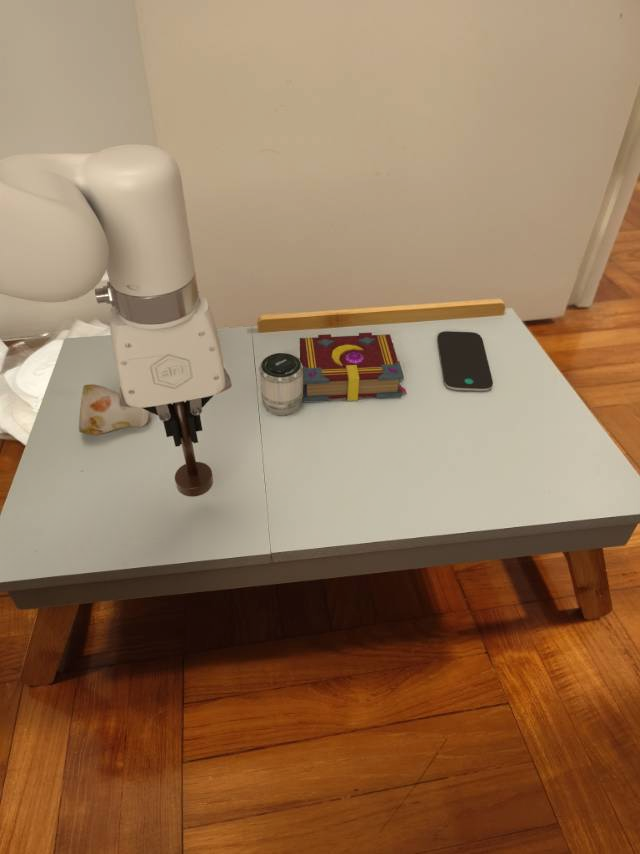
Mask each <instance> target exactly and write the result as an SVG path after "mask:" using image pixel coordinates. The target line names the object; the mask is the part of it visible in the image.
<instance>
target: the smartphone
mask: <svg viewBox="0 0 640 854" xmlns="http://www.w3.org/2000/svg"><path fill="white" fill-rule="evenodd" d="M436 341H437V348H438V356H439V360H440V361H439V362H440V369H441V374H442V379H443V380H442V381H443V384H444V386H445V387H446V388H447V389H449V390H453V391H462V392H464V391H465V392H487V391H490V390H491V389H493V385H494V381H493V376H492V373H491V369H490V365H489V364H490V363H489V361H488V360H489V359H488V357H487V356H488V355H487V352H486V349H485V344H484V339H483V337H482V336H481V335H480V334H479V333H478V332H474V331H454V330H453V331H452V330H451V331H450V330H447V331H441V332H439V333H438V335H437V337H436Z"/></svg>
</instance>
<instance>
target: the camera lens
mask: <svg viewBox="0 0 640 854" xmlns="http://www.w3.org/2000/svg"><path fill="white" fill-rule="evenodd" d="M258 370H259V380H260V391H261V392H260V395H261V400H262V404H263V405H264V408H265V410H266V411H268V412H269V413H271V414H273V415H276V416H288V415H292V414H294V413H295V412H298V411H299V409H300V408H301V406H302V402H303V365H302V363H301V361H300V358H298V357H297V356H296V355H293V354H290V353H286V352H277V353H273V354H269V355H268V356H266V357H265V358H263V360H262V361H261V362H260V365H259V368H258Z"/></svg>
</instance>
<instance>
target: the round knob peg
mask: <svg viewBox="0 0 640 854" xmlns="http://www.w3.org/2000/svg"><path fill="white" fill-rule="evenodd" d="M184 402H185V401H181V402H175V403H172V404H173V406H174V411H175V414H176V418H177V423H178V428H179V433H180V438H181V443H182V444H181V448H182V453H183V457H184V462H185V463H184V464H182V465H180V467H179V468H178V469H176V472H175V474H174V482H175V487H176V489H177V491H178V493H180V494H181V495H183V496H185V497H189V498H190V497H191V498H195V497H200V496H203V495H205V494H206V493H208V492H209V491H210V490H211V489H212V487H213V485H214V476H213V471H212V468H211V467H210V466H209V465H208V464H207V463H204V462H202V461H197V460H196V455H195V449H194V443H193V442H192V441H191V436H190V431H189V426H188V421H187V416H186V408H185V403H184Z"/></svg>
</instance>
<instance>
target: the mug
mask: <svg viewBox="0 0 640 854" xmlns="http://www.w3.org/2000/svg"><path fill="white" fill-rule="evenodd" d="M80 400H81V401H80V405H79V407H80V408H79V420H78V432H79V433H81V434H85V435H92V436H93V435H94V436H95V435H101V434H105V433H108V432H111V431H115V430H119V429H121V428H127V427H128V428H129V427H131V428H132V427H135V428H136V427H137V428H142V427H144V426H145V425H146V424H147V423H148V422H149V417H150V412H149V411H147V410H145V409H143V408H134V407H123V406H121V405H120V400H119V393H118V392H116V391H114V390H112V389H110V388H107V387H105V386H103V385H99V384H93V383H92V384H84V385H83V386H82V393H81V398H80Z"/></svg>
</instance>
